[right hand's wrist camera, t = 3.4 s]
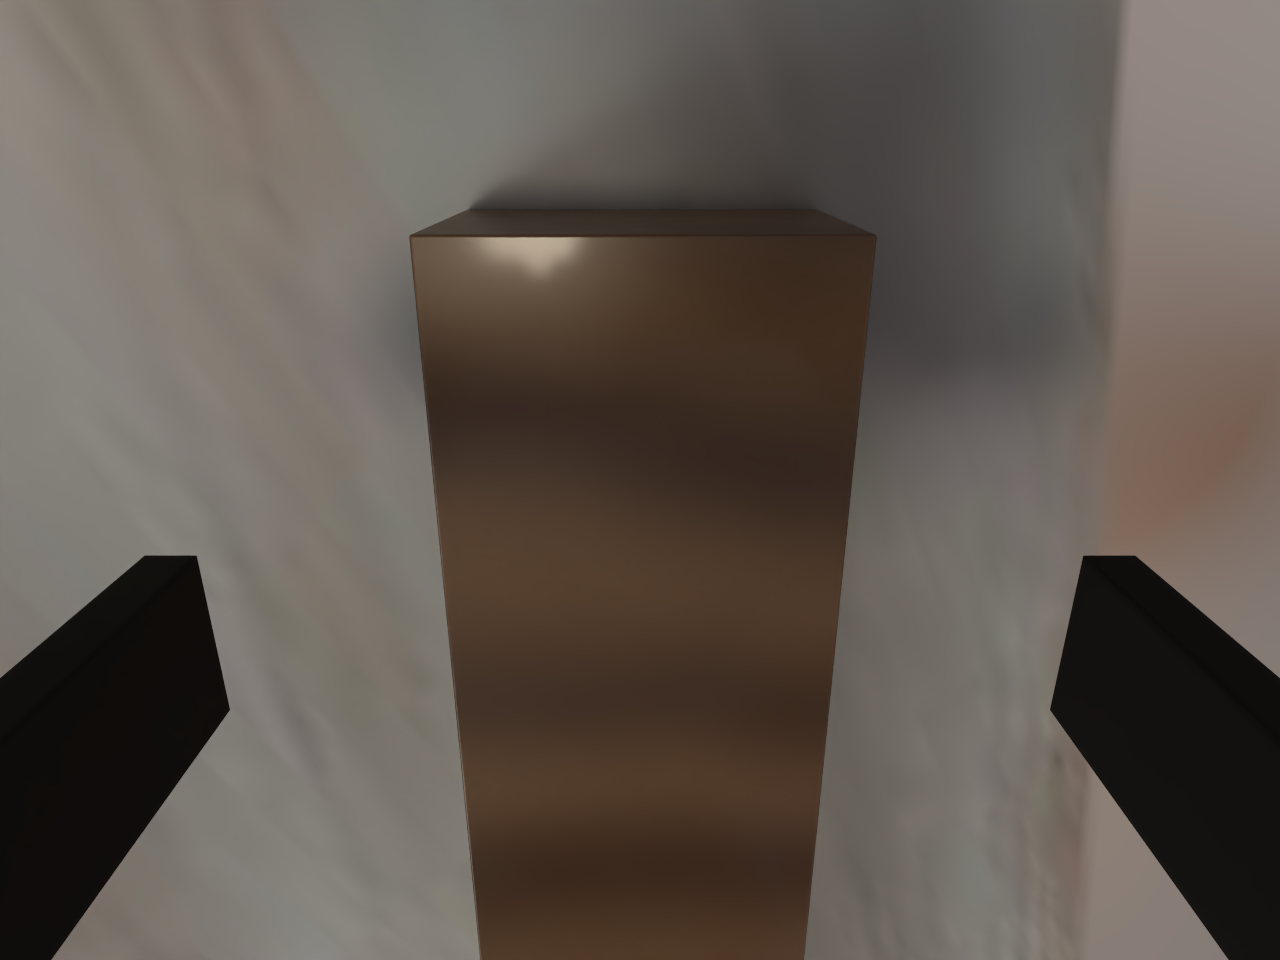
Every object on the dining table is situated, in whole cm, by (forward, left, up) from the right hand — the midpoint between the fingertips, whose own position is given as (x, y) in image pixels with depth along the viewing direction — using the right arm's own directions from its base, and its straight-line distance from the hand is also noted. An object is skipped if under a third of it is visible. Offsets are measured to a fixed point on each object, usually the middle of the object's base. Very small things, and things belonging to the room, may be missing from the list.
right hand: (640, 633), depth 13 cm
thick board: (+14, +15, -14) cm, 25 cm away
